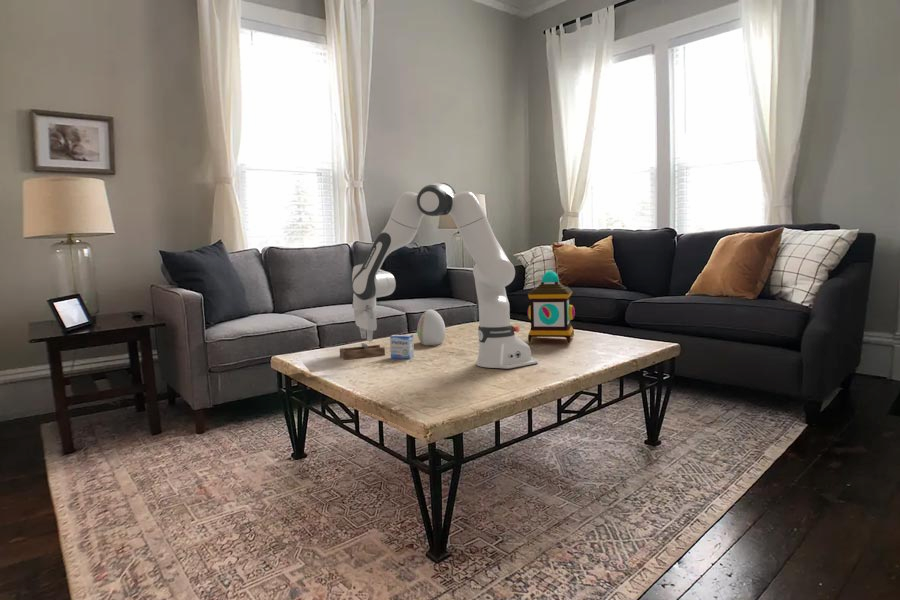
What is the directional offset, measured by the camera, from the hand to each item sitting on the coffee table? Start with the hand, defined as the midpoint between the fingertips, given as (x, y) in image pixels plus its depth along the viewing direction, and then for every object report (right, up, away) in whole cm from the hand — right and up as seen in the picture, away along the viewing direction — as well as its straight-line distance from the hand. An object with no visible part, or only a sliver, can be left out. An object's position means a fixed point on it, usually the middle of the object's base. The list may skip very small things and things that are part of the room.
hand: (366, 339), depth 214 cm
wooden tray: (-2, -6, 0) cm, 6 cm away
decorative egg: (+25, -4, +22) cm, 33 cm away
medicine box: (+15, -7, -8) cm, 18 cm away
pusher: (-1, -5, 0) cm, 5 cm away
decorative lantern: (+76, -2, +20) cm, 79 cm away
